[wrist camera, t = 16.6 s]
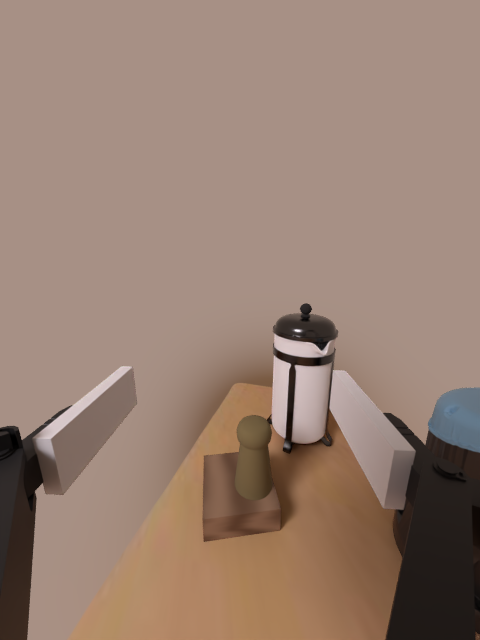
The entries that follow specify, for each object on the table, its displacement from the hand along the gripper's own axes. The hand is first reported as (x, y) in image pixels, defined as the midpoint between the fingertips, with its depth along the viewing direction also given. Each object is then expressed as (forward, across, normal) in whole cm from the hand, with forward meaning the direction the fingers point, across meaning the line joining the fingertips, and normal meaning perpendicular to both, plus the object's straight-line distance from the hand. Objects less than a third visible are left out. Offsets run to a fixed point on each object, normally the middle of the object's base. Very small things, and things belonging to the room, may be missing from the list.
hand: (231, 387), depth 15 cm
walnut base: (+17, 0, -30) cm, 34 cm away
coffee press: (+34, +12, -30) cm, 47 cm away
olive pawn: (+16, +2, -26) cm, 31 cm away
